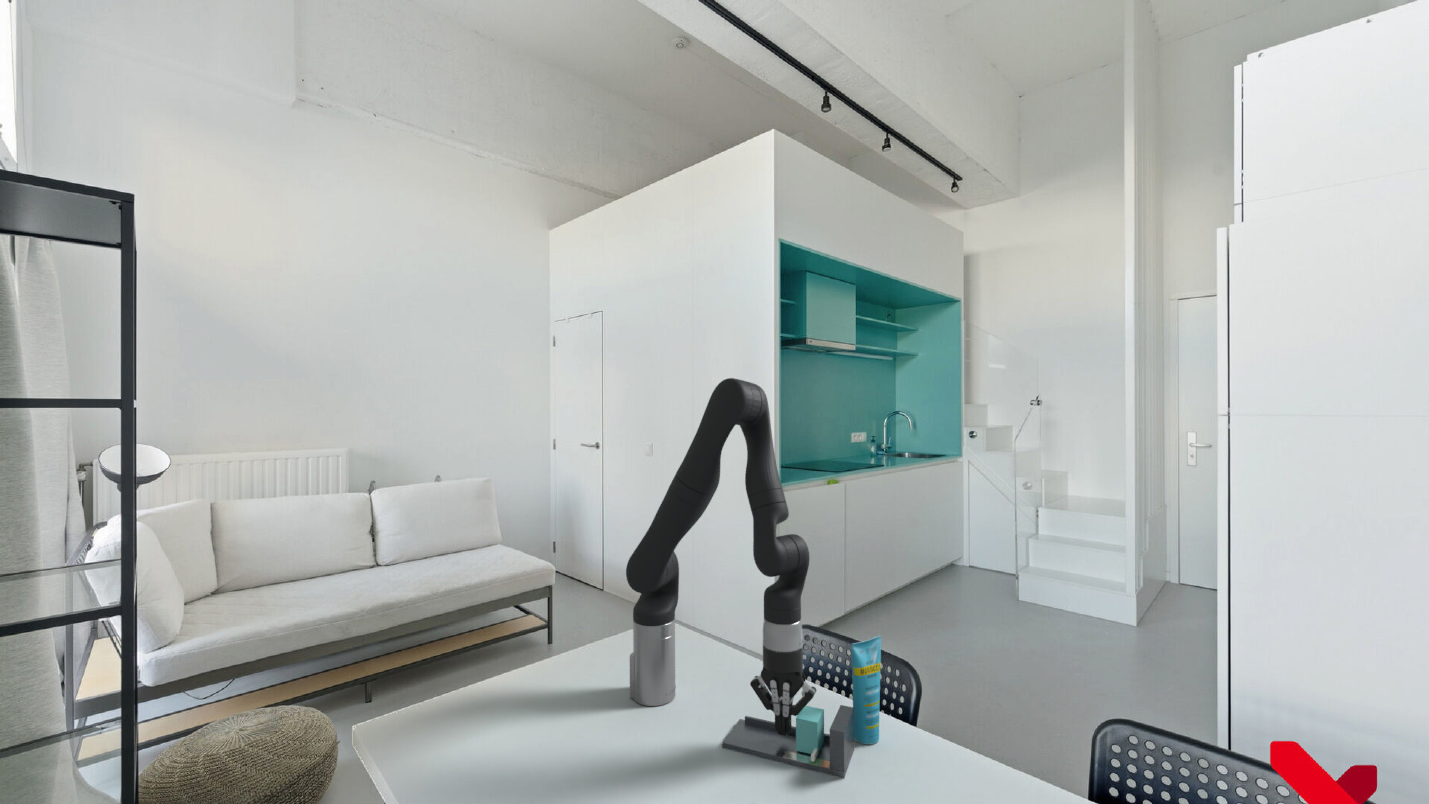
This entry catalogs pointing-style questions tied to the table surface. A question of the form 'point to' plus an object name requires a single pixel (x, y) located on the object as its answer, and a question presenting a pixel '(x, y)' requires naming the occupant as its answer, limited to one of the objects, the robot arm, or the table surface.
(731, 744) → the base
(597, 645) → the table surface
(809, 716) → the block
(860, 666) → the tube
